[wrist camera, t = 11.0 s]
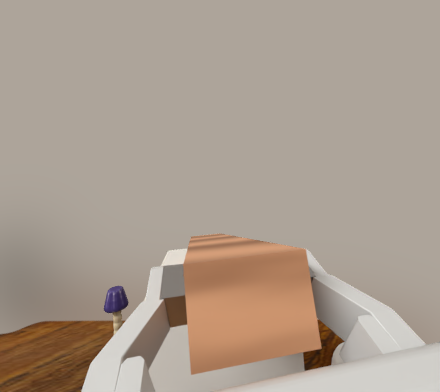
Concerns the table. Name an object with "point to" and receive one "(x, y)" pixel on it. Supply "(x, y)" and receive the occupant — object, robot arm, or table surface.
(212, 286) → the orange bar
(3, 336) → the table surface
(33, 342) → the table surface
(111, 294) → the toy lamp
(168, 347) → the white stand
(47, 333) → the table surface
